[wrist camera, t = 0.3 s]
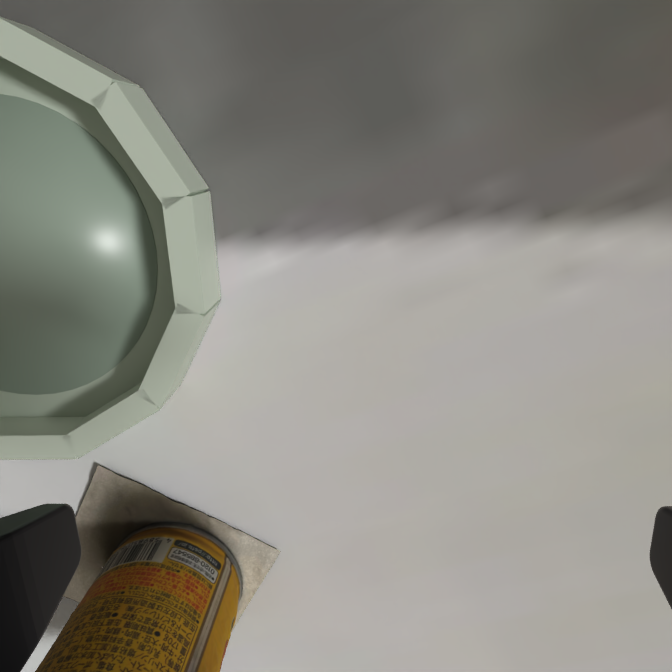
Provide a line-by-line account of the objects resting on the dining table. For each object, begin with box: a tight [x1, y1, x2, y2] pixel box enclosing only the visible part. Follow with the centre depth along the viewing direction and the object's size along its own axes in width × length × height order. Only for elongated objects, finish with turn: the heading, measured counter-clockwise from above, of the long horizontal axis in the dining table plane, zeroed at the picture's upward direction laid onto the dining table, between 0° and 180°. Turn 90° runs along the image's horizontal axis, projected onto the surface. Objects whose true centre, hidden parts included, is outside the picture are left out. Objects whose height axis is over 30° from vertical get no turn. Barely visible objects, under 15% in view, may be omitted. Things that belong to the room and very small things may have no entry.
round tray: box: [0, 17, 221, 460], centre depth 21 cm, size 15×15×2 cm
